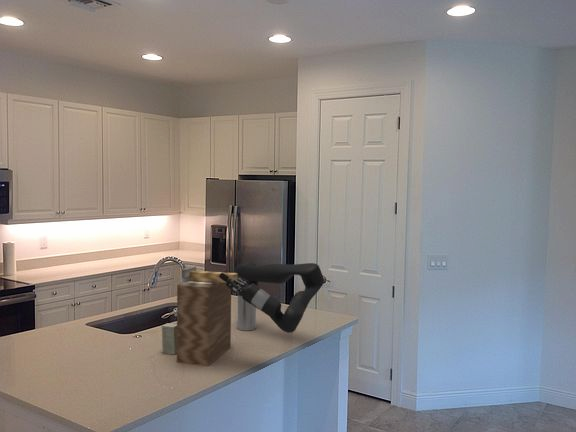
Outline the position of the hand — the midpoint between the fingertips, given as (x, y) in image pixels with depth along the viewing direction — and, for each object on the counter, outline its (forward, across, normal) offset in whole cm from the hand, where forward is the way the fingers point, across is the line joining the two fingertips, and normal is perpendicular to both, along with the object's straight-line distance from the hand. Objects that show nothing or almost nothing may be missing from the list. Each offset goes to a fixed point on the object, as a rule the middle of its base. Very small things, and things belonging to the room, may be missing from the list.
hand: (222, 273), depth 210 cm
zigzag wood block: (-9, -6, +37) cm, 38 cm away
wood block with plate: (+3, 0, +5) cm, 6 cm away
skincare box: (+4, -3, +44) cm, 45 cm away
